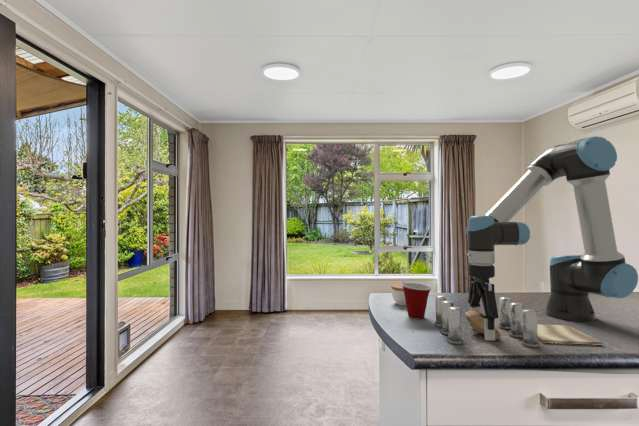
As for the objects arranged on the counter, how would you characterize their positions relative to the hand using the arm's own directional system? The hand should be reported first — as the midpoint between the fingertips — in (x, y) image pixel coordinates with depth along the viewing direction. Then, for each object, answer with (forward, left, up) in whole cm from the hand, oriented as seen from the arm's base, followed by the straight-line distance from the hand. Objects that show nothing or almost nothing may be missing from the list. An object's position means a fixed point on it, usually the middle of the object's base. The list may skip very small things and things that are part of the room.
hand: (482, 333), depth 106 cm
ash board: (-23, -2, 0) cm, 23 cm away
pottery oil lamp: (0, 0, -1) cm, 1 cm away
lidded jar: (+19, -38, -1) cm, 43 cm away
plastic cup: (+17, -18, -1) cm, 25 cm away
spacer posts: (0, 0, 0) cm, 0 cm away
